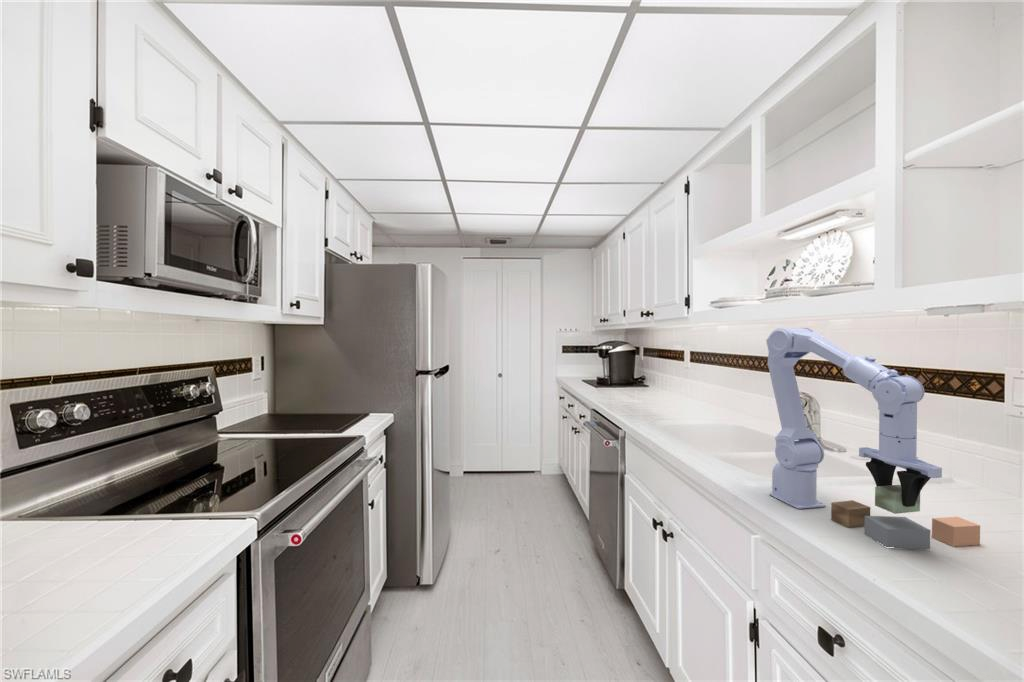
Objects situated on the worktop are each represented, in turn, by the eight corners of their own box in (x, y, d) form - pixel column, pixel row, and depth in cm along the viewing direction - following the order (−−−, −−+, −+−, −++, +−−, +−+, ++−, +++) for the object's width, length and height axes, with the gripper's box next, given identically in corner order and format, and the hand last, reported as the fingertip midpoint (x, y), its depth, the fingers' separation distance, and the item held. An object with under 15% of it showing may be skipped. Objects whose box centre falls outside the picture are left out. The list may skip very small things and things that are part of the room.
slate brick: (864, 534, 91) (864, 515, 91) (904, 535, 90) (904, 516, 90) (886, 548, 85) (887, 529, 85) (930, 550, 84) (930, 530, 84)
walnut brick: (831, 519, 98) (831, 502, 97) (852, 517, 99) (852, 500, 99) (848, 527, 94) (848, 509, 94) (870, 524, 95) (870, 507, 95)
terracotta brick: (931, 537, 89) (932, 518, 89) (957, 535, 90) (957, 516, 90) (953, 546, 85) (953, 527, 85) (979, 545, 86) (980, 525, 86)
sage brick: (874, 505, 89) (875, 486, 89) (898, 503, 90) (899, 484, 90) (895, 513, 85) (895, 493, 85) (919, 511, 86) (920, 491, 86)
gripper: (955, 443, 80) (954, 514, 81) (878, 426, 95) (877, 487, 95) (924, 445, 79) (923, 517, 80) (851, 428, 94) (850, 489, 94)
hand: (896, 501), depth 87 cm, fingers closed on sage brick, 4 cm apart
